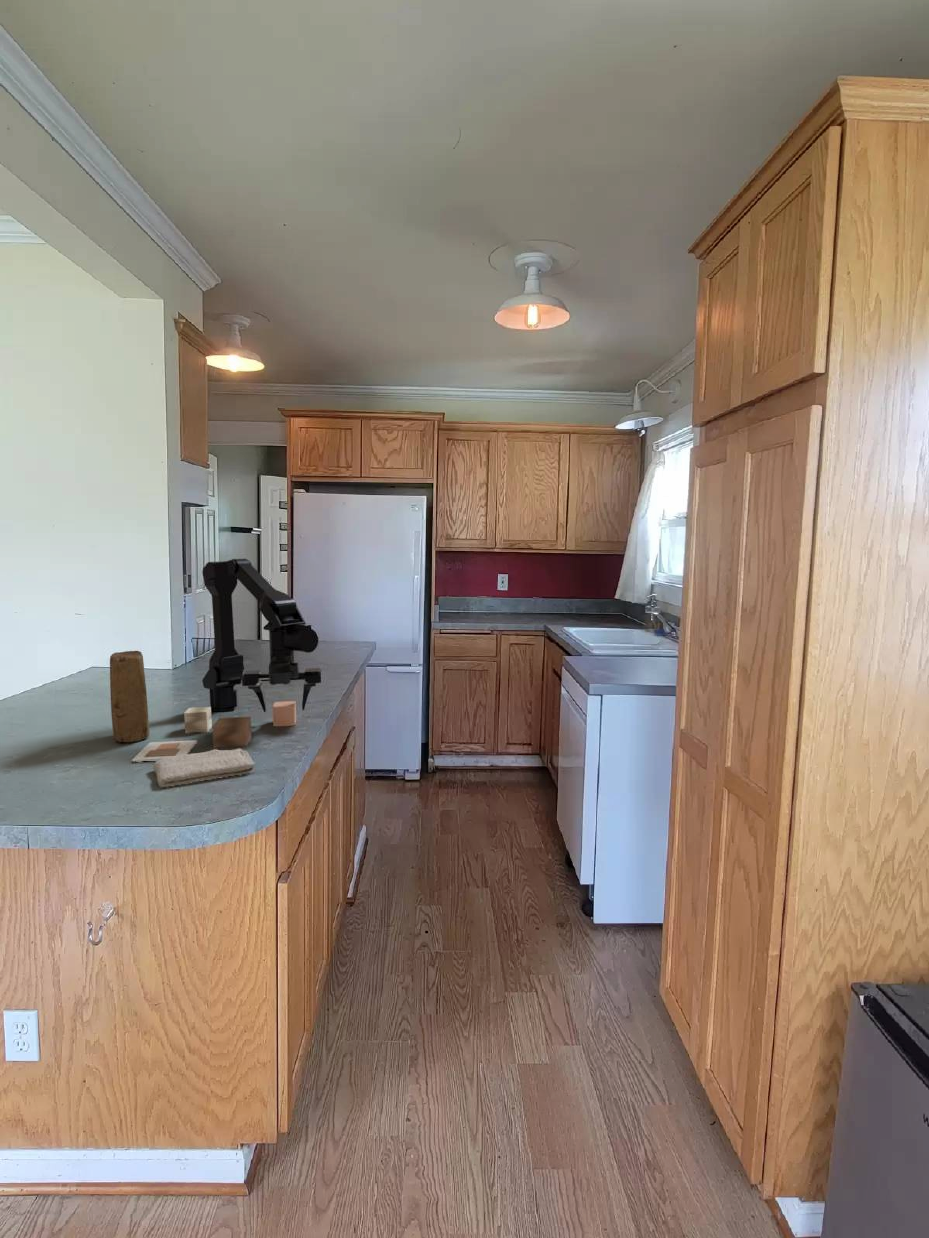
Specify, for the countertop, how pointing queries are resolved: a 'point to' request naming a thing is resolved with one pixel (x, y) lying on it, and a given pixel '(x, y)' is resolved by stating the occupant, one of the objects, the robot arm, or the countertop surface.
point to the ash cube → (198, 719)
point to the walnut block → (231, 732)
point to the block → (128, 697)
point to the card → (165, 750)
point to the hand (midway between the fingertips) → (284, 710)
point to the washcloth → (202, 766)
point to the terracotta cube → (284, 713)
